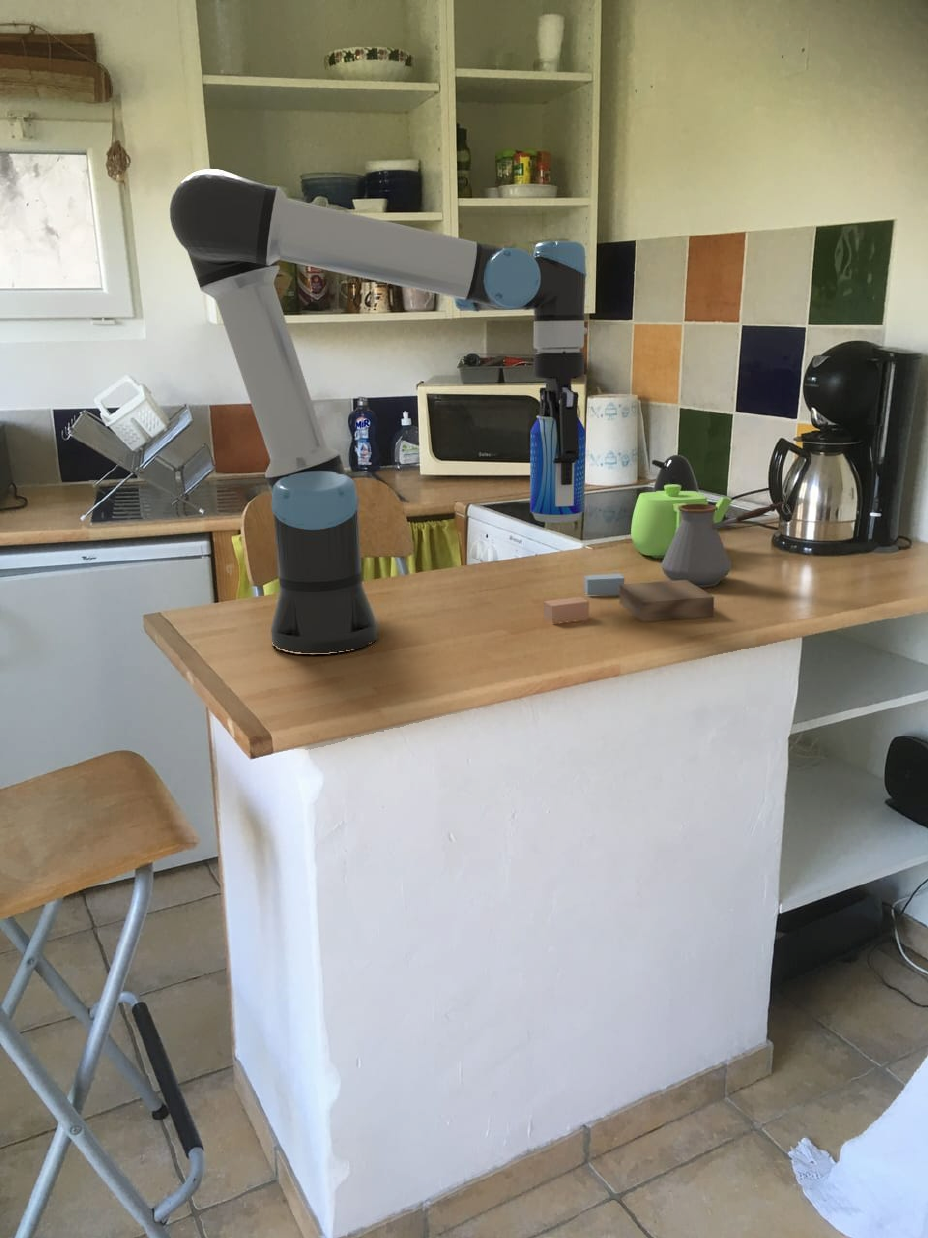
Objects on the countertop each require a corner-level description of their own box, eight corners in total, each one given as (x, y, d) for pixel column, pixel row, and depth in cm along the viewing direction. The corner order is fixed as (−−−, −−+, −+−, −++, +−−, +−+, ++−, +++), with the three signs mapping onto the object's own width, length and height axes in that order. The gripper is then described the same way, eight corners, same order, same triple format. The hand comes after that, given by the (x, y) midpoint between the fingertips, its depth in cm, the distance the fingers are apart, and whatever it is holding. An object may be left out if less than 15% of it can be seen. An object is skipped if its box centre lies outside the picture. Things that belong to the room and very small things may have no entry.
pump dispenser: (643, 522, 223) (645, 453, 219) (690, 520, 224) (692, 450, 220) (657, 531, 214) (659, 458, 209) (705, 529, 215) (708, 456, 210)
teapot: (715, 540, 204) (717, 475, 200) (745, 562, 185) (748, 491, 181) (623, 543, 203) (624, 478, 200) (644, 566, 184) (645, 495, 181)
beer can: (577, 524, 155) (579, 418, 151) (523, 522, 158) (524, 417, 153) (588, 515, 163) (591, 413, 158) (537, 513, 165) (538, 412, 161)
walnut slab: (642, 621, 150) (643, 602, 150) (619, 603, 161) (619, 584, 160) (713, 616, 152) (714, 596, 151) (685, 597, 162) (686, 579, 162)
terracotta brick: (552, 625, 151) (551, 606, 150) (544, 620, 154) (543, 601, 153) (588, 620, 153) (588, 601, 152) (580, 615, 155) (580, 596, 155)
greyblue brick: (587, 597, 165) (587, 579, 165) (584, 593, 168) (584, 575, 167) (624, 595, 166) (624, 578, 165) (620, 591, 169) (620, 573, 168)
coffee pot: (648, 584, 172) (649, 496, 167) (681, 571, 180) (684, 486, 176) (768, 603, 158) (773, 507, 154) (798, 587, 166) (804, 496, 162)
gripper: (603, 352, 144) (599, 511, 150) (564, 349, 164) (562, 489, 170) (552, 352, 142) (550, 513, 149) (519, 349, 162) (518, 491, 169)
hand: (556, 500), depth 159 cm, fingers closed on beer can, 8 cm apart
